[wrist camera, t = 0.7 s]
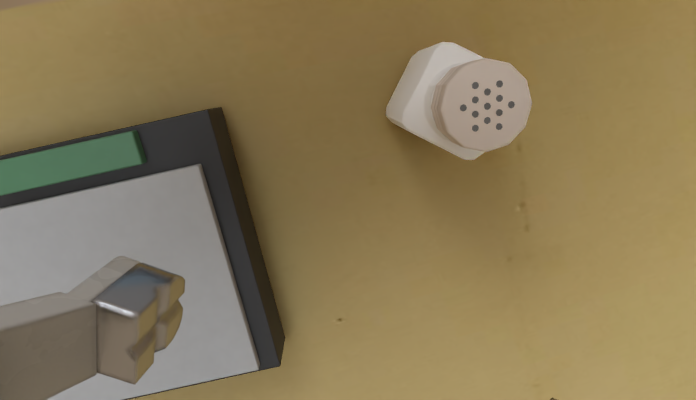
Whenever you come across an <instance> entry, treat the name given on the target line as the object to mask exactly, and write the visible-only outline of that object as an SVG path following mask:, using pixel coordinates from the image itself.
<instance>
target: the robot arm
mask: <svg viewBox="0 0 696 400" xmlns="http://www.w3.org/2000/svg"><path fill="white" fill-rule="evenodd" d="M184 292H185V279H184V278H183V277H182V276H180V275H177V274H174V273H171V272H168V271H166V270H163V269H160V268H157V267H154V266H151V265H149V264H146V263H141V262H139V261H136V260H133V259H131V258H128V257H125V256H119V257H115V258H114V259H113V260H111V261H110V262H109V263H107V264H106V265H105V266H103V267H102V268H100V269H99V270H98V271H96V272H95V273H94V274H92V275H91V276H90V277H88V278H87V279H86V280H84V281H83V282H82V283H80V284H79V285H78V286H76V287H75V288H73V289H72V290H71V291H69V292H68V293H67V294H66V293H63V292H56V293H52V294H48V295H44V296H40V297H35V298H31V299H27V300H23V301H19V302H15V303H10V304H6V305H2V306H0V400H46V399H48V398H50V397H52V396H54V395H56V394H58V393H60V392H63V391H65V390H67V389H69V388H71V387H73V386H75V385H77V384H79V383H81V382H83V381H85V380H87V379H89V378H92V377H94V376H96V375H97V373H99V374H103V375H106V376H109V377H112V378H115V379H118V380H121V381H124V382H127V383H130V384H133V385H135V384H136V383H137V382H138V381H139V379H140V378H141V377H142V376H143V375H144V374H145V372H146V371H147V370H148V369H149V368H150V367H151V365H152V364H153V363H154V353H155V352H158V351H161V350H163V349H166V348H167V346H168V345H169V344H170V343H171V341H172V340H173V339H174V337H175V335H176V333H177V331H178V329H179V327H180V323H181V320H182V315H183V307H182V305H181V303H180V302H179V300H178V299H179V298H180V297H181V296H182V295H183V293H184ZM550 400H557V399H554V398H551V399H550Z"/></svg>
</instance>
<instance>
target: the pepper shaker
mask: <svg viewBox="0 0 696 400" xmlns="http://www.w3.org/2000/svg"><path fill="white" fill-rule="evenodd" d="M531 106H532V100H531V96H530V92H529V88H528V83H527V80H526V79H525V78H524V77H523V76H522V75H521V74H520V73H519V72H518V71H517V70H516V69H515V68H514V67H513V66H512V65H511V64H510V63H507V62H502V61H498V60H493V59H489V58H483V57H481V56H479V55H477V54H475V53H474V52H472V51H470V50H468V49H466V48H463V47H461V46H459V45H457V44H455V43H451V42H441V43H438V44H435V45H433V46H430V47H428V48H425V49H423V50H420V51H418V52H417V53H416V54H414V55H413V56H412V57H411V59H410V61H409V63H408V65H407V67H406V69H405V71H404V73H403V75H402V77H401V79H400V81H399V83H398V85H397V87H396V89H395V91H394V93H393V95H392V97H391V99H390V101H389V103H388V105H387V107H386V116H387V118H388V119H389V120H390V121H391V122H392V123H394V124H396V125H398V126H399V127H401V128H403V129H405V130H407V131H409V132H411V133H413V134H414V135H416V136H418V137H420V138H422V139H424V140H426V141H428V142H430V143H432V144H434V145H436V146H438V147H440V148H442V149H444V150H446V151H448V152H450V153H452V154H454V155H456V156H458V157H460V158H462V159H464V160H475V159H476V158H477V157H479V156H480V155H482V154H483V153H484V152H488V151H491V150H494V149H497V148H500V147H503V146H506V145H509V144H510V143H511V142H512V141H513V140H514V138H515V137H516V136H517V135H518V134H519V133H520V132H521V131H522V130H523V129H524V128H525V127H526V123H527V120H528V116H529V113H530V109H531Z"/></svg>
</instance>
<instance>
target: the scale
mask: <svg viewBox="0 0 696 400" xmlns="http://www.w3.org/2000/svg"><path fill="white" fill-rule="evenodd" d="M119 256H125V257H128V258H131V259H133V260H136V261H139V262H141V263H146V264H149V265H151V266H154V267H157V268H160V269H163V270H166V271H168V272H171V273H174V274H177V275H180V276H182V277H183V278H184V279H185V292H184V293H183V295H182V296H181V297H180V298H179V299H178V300H179V302H180V303H181V305H182V307H183V315H182V320H181V323H180V327H179V329H178V331H177V333H176V335H175V337H174V339H173V340H172V341H171V343H170V344H169V345H168V346H167V348H166V349H163V350H161V351H158V352H155V353H154V363H153V364H152V365H151V367H150V368H149V369H148V370H147V371H146V372H145V374H144V375H143V376H142V377H141V378H140V379H139V381H138V382H137V383H136V384H135V385H133V384H130V383H127V382H124V381H121V380H118V379H115V378H112V377H109V376H106V375H103V374H99V373H97V375H96V376H94V377H92V378H89V379H87V380H85V381H83V382H81V383H79V384H77V385H75V386H73V387H71V388H69V389H67V390H65V391H63V392H60V393H58V394H56V395H54V396H52V397H50V398H48V399H46V400H127V399H132V398H137V397H141V396H146V395H150V394H155V393H160V392H164V391H169V390H173V389H178V388H182V387H187V386H192V385H196V384H201V383H205V382H210V381H215V380H219V379H224V378H228V377H233V376H237V375H242V374H247V373H251V372H256V371H260V370H265V369H269V368H274V367H279V366H280V364H281V358H282V353H283V347H284V341H285V336H284V332H283V329H282V325H281V321H280V318H279V314H278V311H277V307H276V303H275V300H274V296H273V292H272V289H271V285H270V282H269V278H268V274H267V271H266V267H265V263H264V260H263V256H262V253H261V249H260V245H259V242H258V238H257V235H256V231H255V227H254V224H253V220H252V216H251V213H250V209H249V206H248V202H247V198H246V195H245V191H244V187H243V184H242V180H241V177H240V173H239V169H238V166H237V162H236V159H235V155H234V151H233V148H232V144H231V140H230V137H229V133H228V130H227V126H226V122H225V119H224V115H223V111H222V108H221V107H218V108H213V109H207V110H203V111H198V112H194V113H189V114H185V115H180V116H176V117H172V118H167V119H163V120H158V121H154V122H149V123H145V124H140V125H136V126H131V127H127V128H122V129H118V130H113V131H109V132H105V133H100V134H96V135H91V136H87V137H82V138H78V139H73V140H69V141H64V142H60V143H55V144H51V145H47V146H42V147H38V148H33V149H29V150H24V151H20V152H15V153H11V154H6V155H2V156H0V306H2V305H6V304H10V303H15V302H19V301H23V300H27V299H31V298H35V297H40V296H44V295H48V294H52V293H56V292H63V293H66V294H67V293H68V292H69V291H71V290H72V289H73V288H75V287H76V286H78V285H79V284H80V283H82V282H83V281H84V280H86V279H87V278H88V277H90V276H91V275H92V274H94V273H95V272H96V271H98V270H99V269H100V268H102V267H103V266H105V265H106V264H107V263H109V262H110V261H111V260H113V259H114V258H115V257H119Z"/></svg>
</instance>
